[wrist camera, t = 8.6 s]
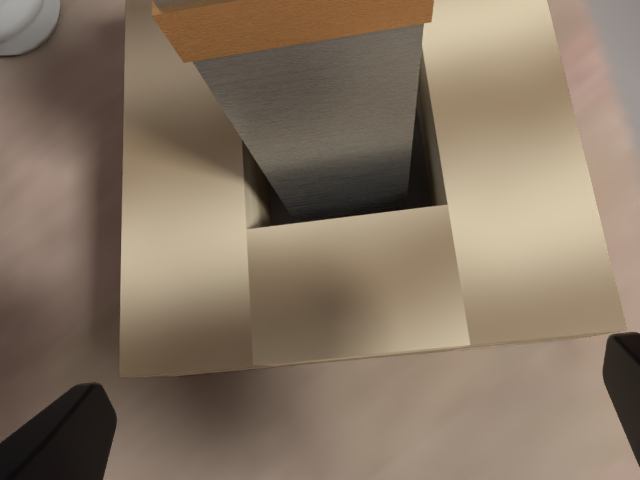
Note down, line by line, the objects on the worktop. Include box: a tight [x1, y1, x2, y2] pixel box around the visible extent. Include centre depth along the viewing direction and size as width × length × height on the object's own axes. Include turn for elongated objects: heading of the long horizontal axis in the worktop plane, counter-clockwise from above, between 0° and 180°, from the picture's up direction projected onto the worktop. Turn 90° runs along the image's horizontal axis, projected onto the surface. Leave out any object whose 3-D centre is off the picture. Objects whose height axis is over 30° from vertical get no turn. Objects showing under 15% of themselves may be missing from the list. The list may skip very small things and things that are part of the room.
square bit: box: [152, 0, 434, 223], centre depth 13 cm, size 4×4×13 cm
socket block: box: [119, 0, 627, 378], centre depth 18 cm, size 14×14×4 cm
